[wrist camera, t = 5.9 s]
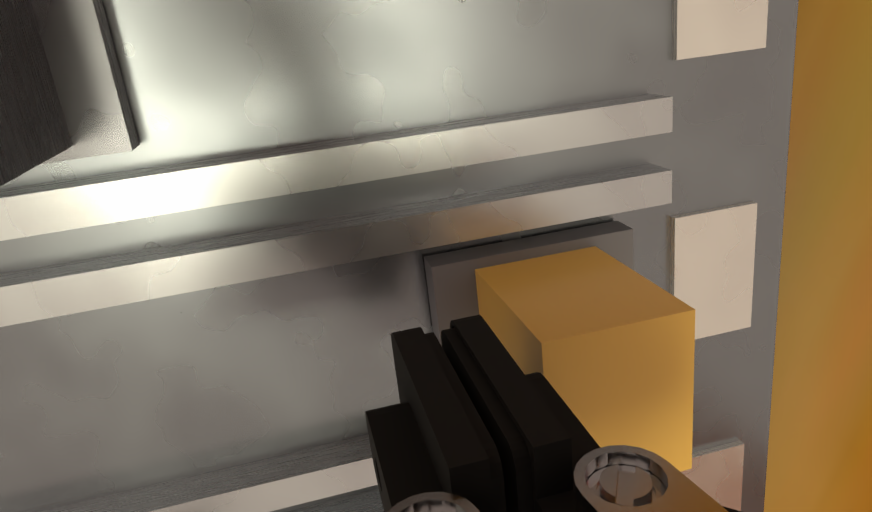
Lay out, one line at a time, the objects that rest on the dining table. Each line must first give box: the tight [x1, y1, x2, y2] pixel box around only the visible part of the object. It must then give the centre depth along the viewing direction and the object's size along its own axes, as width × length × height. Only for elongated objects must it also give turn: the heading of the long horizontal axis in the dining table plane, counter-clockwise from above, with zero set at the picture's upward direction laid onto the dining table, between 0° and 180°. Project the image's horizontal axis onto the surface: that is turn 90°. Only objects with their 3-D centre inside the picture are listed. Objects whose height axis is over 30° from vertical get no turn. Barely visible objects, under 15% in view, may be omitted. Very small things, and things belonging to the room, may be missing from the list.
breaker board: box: [0, 0, 798, 512], centre depth 15 cm, size 22×26×7 cm
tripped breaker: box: [424, 221, 695, 472], centre depth 15 cm, size 4×5×5 cm
